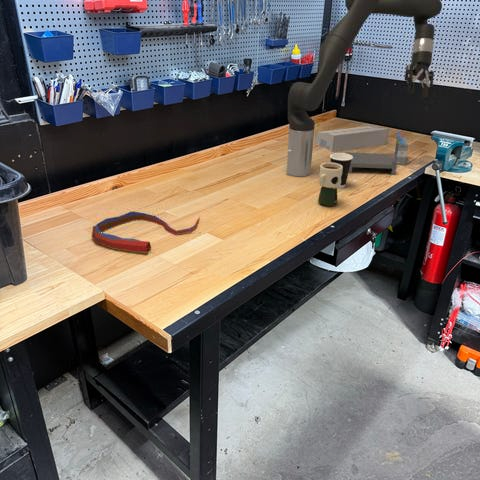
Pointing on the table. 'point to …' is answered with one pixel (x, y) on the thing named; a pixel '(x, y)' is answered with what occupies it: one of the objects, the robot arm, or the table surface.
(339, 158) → the dixie cup
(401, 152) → the label tape box
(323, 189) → the character mug
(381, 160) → the brushed metal plate
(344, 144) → the warehouse
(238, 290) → the table surface
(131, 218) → the red curved tail
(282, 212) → the table surface
